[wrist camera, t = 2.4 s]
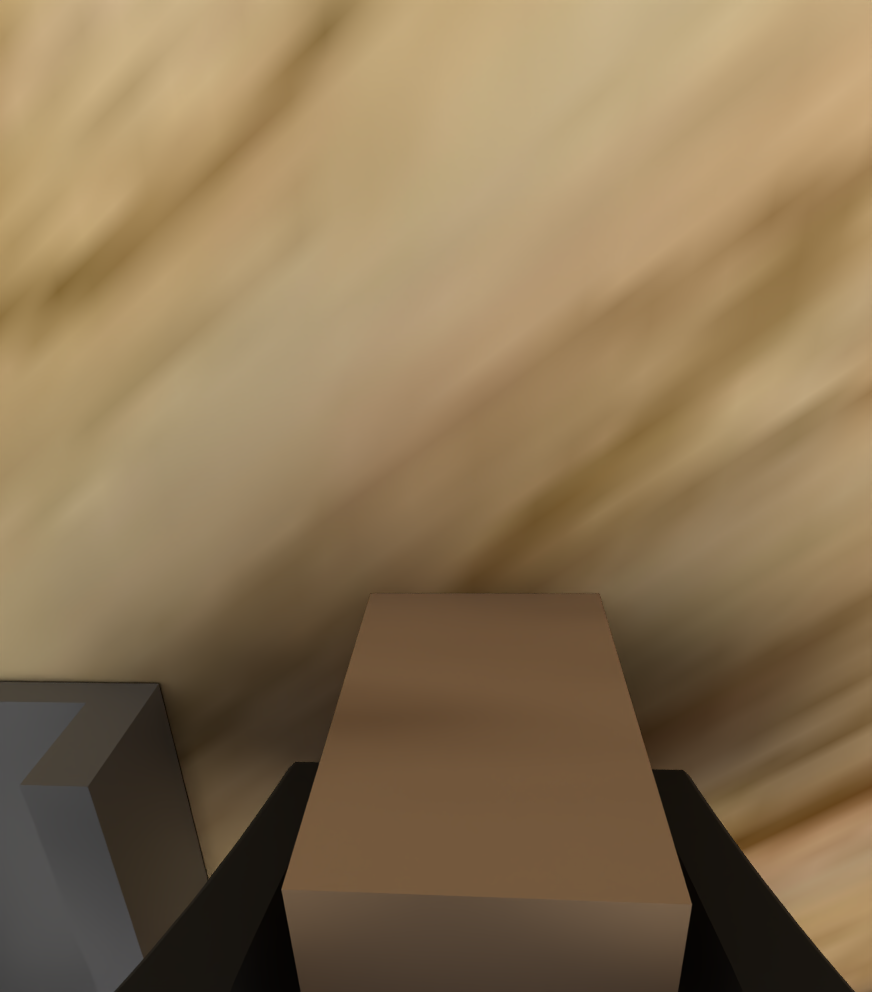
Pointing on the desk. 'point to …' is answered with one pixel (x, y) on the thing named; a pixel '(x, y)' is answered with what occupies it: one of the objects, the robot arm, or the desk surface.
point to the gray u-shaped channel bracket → (89, 834)
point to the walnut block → (485, 810)
